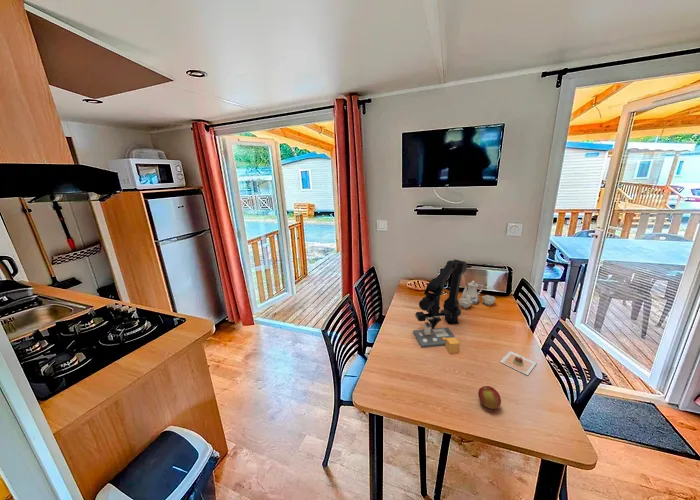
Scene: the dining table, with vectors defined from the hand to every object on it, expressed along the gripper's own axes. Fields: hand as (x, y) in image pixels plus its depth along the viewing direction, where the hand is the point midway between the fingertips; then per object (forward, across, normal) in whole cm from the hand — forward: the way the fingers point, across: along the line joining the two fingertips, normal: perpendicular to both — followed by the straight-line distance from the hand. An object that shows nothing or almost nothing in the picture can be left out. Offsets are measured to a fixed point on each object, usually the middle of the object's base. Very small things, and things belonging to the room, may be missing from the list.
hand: (432, 328), depth 150 cm
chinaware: (+5, -43, -32) cm, 53 cm away
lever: (+3, +3, 0) cm, 4 cm away
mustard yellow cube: (+5, -6, +13) cm, 15 cm away
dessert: (+6, -32, +27) cm, 42 cm away
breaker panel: (+5, -1, +2) cm, 5 cm away
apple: (+5, -4, +47) cm, 48 cm away
